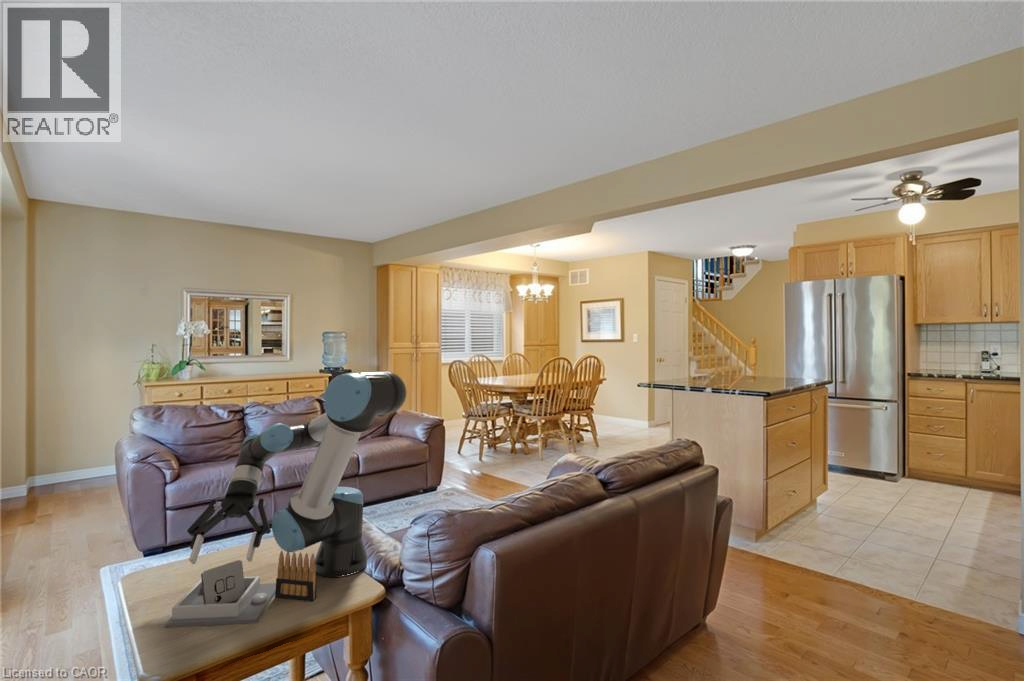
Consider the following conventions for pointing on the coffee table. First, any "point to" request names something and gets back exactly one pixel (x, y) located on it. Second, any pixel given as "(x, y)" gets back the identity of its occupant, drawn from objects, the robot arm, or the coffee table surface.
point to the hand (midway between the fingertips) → (220, 560)
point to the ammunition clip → (296, 578)
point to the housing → (223, 606)
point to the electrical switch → (223, 583)
